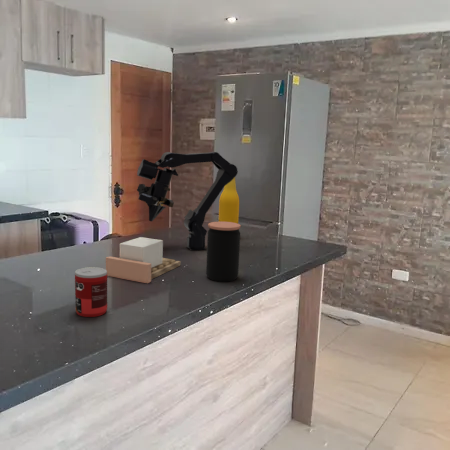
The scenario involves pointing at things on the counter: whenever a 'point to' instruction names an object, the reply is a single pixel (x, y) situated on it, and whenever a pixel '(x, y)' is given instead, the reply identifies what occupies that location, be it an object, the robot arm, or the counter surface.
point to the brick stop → (128, 269)
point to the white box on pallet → (143, 250)
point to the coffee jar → (223, 251)
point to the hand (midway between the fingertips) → (150, 221)
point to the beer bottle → (229, 203)
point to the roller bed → (164, 267)
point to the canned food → (91, 291)
